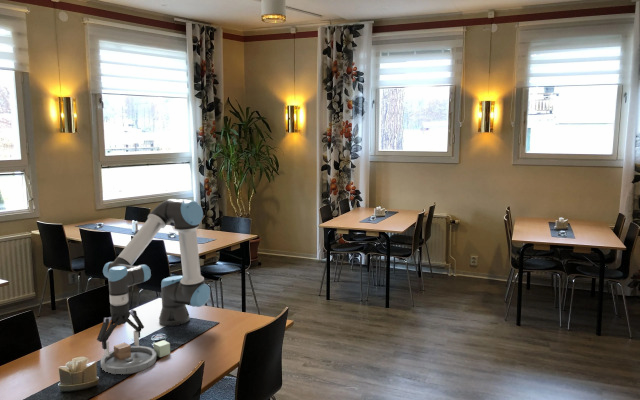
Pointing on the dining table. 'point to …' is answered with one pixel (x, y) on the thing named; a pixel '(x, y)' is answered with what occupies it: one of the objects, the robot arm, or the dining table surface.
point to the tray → (129, 361)
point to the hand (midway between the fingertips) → (122, 350)
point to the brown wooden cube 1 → (122, 351)
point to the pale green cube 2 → (162, 348)
